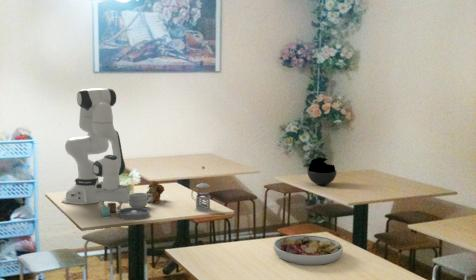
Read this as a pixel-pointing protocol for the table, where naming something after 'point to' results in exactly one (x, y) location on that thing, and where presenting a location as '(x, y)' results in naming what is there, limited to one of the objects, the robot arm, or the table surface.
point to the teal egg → (105, 211)
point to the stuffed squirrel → (155, 191)
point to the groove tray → (133, 213)
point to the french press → (202, 198)
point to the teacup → (139, 199)
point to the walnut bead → (112, 207)
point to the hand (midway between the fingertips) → (111, 209)
